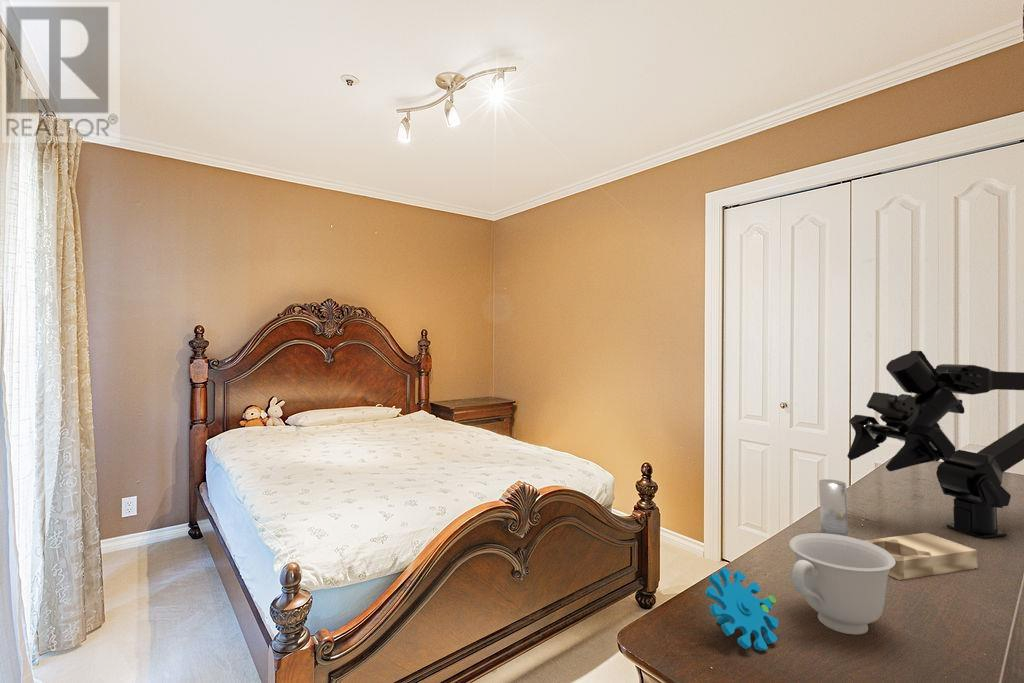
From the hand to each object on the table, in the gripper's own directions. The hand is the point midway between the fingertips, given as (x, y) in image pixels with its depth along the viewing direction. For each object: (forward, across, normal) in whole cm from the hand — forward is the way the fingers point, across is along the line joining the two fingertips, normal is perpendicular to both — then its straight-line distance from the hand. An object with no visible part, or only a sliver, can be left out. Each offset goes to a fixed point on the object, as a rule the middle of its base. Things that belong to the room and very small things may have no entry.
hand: (867, 463), depth 94 cm
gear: (+41, +27, -14) cm, 51 cm away
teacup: (+31, +26, -6) cm, 41 cm away
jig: (+10, +11, +10) cm, 18 cm away
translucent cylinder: (+14, -1, +7) cm, 16 cm away
